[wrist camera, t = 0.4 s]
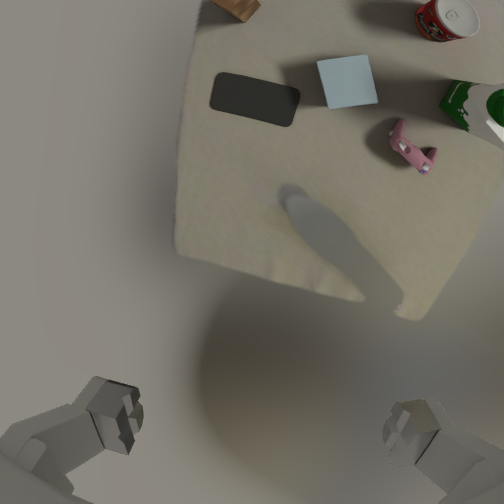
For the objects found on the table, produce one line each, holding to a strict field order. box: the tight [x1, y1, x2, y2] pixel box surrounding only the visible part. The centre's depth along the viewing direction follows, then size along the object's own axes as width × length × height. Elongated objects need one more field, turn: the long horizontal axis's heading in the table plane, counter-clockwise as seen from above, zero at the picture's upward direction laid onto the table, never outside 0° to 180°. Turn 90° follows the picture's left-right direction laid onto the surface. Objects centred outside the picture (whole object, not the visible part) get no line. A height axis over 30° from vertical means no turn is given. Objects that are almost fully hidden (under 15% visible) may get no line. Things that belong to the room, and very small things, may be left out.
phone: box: [211, 72, 300, 127], centre depth 47 cm, size 7×1×15 cm
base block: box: [316, 55, 378, 109], centre depth 40 cm, size 8×8×6 cm
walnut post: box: [210, 0, 261, 23], centre depth 33 cm, size 4×4×10 cm
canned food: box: [416, 0, 480, 42], centre depth 27 cm, size 8×8×11 cm
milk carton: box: [439, 80, 504, 150], centre depth 30 cm, size 9×9×20 cm
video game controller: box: [389, 119, 438, 175], centre depth 43 cm, size 10×5×7 cm, turn 61°
